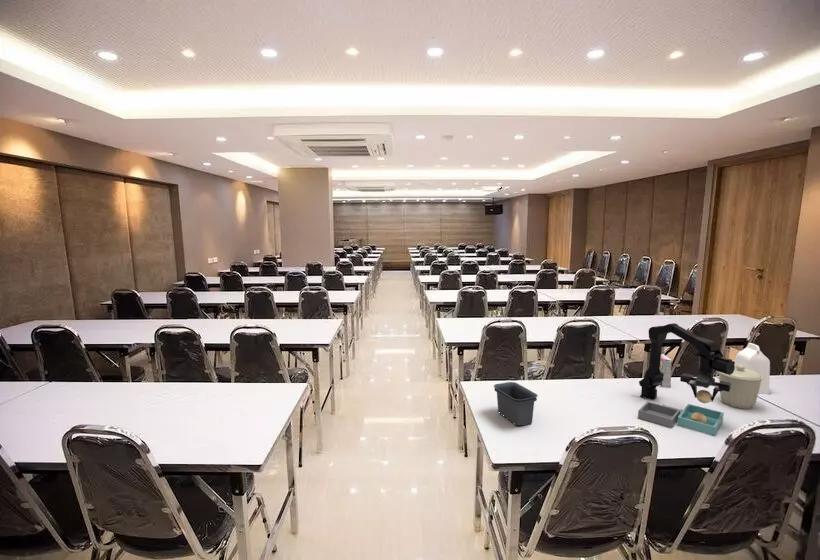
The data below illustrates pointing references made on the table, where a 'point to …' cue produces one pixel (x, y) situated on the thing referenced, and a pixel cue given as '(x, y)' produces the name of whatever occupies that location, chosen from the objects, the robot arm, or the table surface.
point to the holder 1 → (659, 414)
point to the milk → (755, 364)
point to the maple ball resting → (699, 417)
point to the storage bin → (515, 402)
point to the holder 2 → (709, 428)
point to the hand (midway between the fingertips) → (703, 399)
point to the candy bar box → (665, 370)
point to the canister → (741, 387)
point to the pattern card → (674, 408)
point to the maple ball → (704, 396)
